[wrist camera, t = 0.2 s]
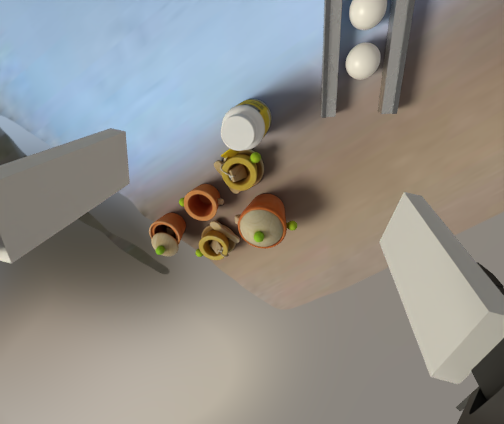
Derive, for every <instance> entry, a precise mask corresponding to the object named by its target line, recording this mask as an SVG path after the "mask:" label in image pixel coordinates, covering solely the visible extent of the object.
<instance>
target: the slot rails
mask: <svg viewBox="0 0 504 424" xmlns="http://www.w3.org/2000/svg"><path fill="white" fill-rule="evenodd" d="M414 3H415V0H392V2H391V10H390V18H389V25H388V33H387V41H386V49H385V57H384V65H383V73H382V81H381V88H380V96H379V104H378V112H380V113H381V114H389V113H392V114H397V110H398V104H399V97H400V91H401V85H402V79H403V72H404V66H405V60H406V54H407V47H408V41H409V35H410V29H411V22H412V16H413V10H414ZM341 12H342V0H324V25H323V56H322V87H321V117H322V118H325V117H335V116H336V100H337V82H338V65H339V47H340V30H341Z"/></svg>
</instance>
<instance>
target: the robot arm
mask: <svg viewBox="0 0 504 424" xmlns="http://www.w3.org/2000/svg"><path fill="white" fill-rule="evenodd" d="M128 184H130V183H129V170H128V158H127V145H126V132H125V131H121V130H116V129H111V128H110V129H107V130H104V131H101V132H98V133H95V134H92V135H89V136H86V137H83V138H80V139H78V140H75V141H72V142H69V143H66V144H63V145H60V146H57V147H54V148H51V149H48V150H45V151H42V152H39V153H36V154H33V155H30V156H27V157H24V158H21V159H18V160H15V161H12V162H9V163H6V164H3V165H1V166H0V261H4V262H8V263H13V262H14V261H16V260H17V259H19V258H20V257H22V256H23V255H25V254H26V253H28V252H29V251H31V250H32V249H34V248H35V247H36V246H38V245H39V244H41V243H42V242H44V241H45V240H47V239H48V238H50V237H51V236H53V235H54V234H56V233H57V232H59V231H60V230H62V229H63V228H65V227H66V226H67V225H69V224H70V223H72V222H73V221H75V220H76V219H78V218H79V217H81V216H82V215H84V214H85V213H87V212H88V211H90V210H91V209H93V208H94V207H96V206H97V205H98V204H100V203H101V202H103V201H104V200H106V199H107V198H109V197H110V196H112V195H113V194H115V193H116V192H118V191H119V190H121V189H122V188H124V187H125V186H127V185H128ZM380 245H381V247H382V250H383V253H384V255H385V258H386V261H387V263H388V266H389V269H390V271H391V274H392V276H393V279H394V281H395V284H396V287H397V289H398V292H399V295H400V297H401V300H402V303H403V305H404V308H405V311H406V313H407V315H408V318H409V321H410V323H411V326H412V329H413V332H414V334H415V337H416V339H417V342H418V344H419V347H420V350H421V352H422V355H423V358H424V360H425V363H426V366H427V368H428V371H429V373H430V376H431V377H433V378H437V379H441V380H444V381H448V382H452V383H455V384H460V383H461V382H462V381H463V380H464V379H465V378H466V377H467V376H468V375H469V374H470V373H471V372H472V373H473V375H474V377H475V379H476V381H477V383H478V385H479V387H478V388H477V389H476V390H475V391H473V392H472V393H471V394H470V395H469V396H468V397H467V398H466V399H465V400H464V401H462V403H460V404H459V405H458V406H457V407H456V408H457V409H458V410H459V411H461V410H463V409H464V410H463V413H462V415H461V417H460V419H459V421H458V423H457V424H504V288H503V285H502V284H501V283H500V282H499V281H498V279H497V278H496V277H495V276H494V275H493V274H492V273H491V272H489V271H488V270H487V269H485V268H484V267H483V266H482V265H480V264H479V263H477V262H475V260H474V259H473V258H472V256H471V255H470V254H469V253H468V252H467V250H466V249H465V248H464V247H463V245H462V244H461V243H460V242H459V241H458V239H457V238H456V237H455V236H454V235H453V233H452V232H451V231H450V230H449V228H448V227H447V226H446V225H445V224H444V222H443V221H442V220H441V219H440V218H439V216H438V215H437V214H436V213H435V211H434V210H433V209H432V208H431V207H430V205H429V204H428V203H427V202H426V201H425V199H424V198H423V197H422V196H419V195H415V194H410V193H406V192H404V193H403V195H402V197H401V199H400V201H399V203H398V205H397V207H396V209H395V211H394V213H393V215H392V217H391V219H390V222H389V224H388V226H387V228H386V230H385V232H384V234H383V236H382V238H381V240H380Z"/></svg>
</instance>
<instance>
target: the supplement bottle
mask: <svg viewBox="0 0 504 424" xmlns="http://www.w3.org/2000/svg"><path fill="white" fill-rule="evenodd" d="M270 125H271V113H270V110H269V108H268V107H267V105H266V104H265V103H263V102H262V101H260V100H257V99H248V100H245V101H243V102H241V103H240V104H238V105H236V106H235V107H233V108H231V109H230V110H229V111H228V112H227V113H226V115H225V116H224V118H223V122H222V128H221V136H222V140H223V141H224V143H225V144H226V145H227V146H228V147H229V148H230V149H233V150H236V151H242V150H249V149H252V148H254V147H256V146H257V145H258V144H259V143H260V142H261V140H262V139H263V137H264V136H265V134H266V133H267V131H268V129H269V127H270Z"/></svg>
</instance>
